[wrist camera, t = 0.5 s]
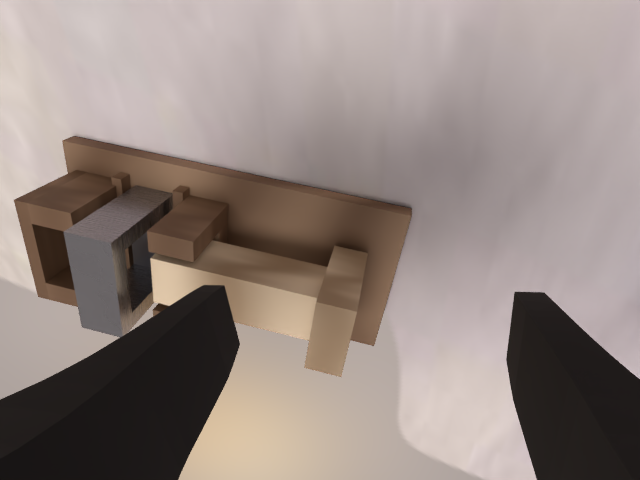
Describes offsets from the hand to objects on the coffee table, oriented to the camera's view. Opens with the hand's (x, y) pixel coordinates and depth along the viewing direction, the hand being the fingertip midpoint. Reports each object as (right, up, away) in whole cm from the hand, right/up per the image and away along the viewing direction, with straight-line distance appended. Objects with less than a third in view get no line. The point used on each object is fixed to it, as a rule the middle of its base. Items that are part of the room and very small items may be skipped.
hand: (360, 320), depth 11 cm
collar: (-10, +2, +11) cm, 15 cm away
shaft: (-3, +1, +10) cm, 11 cm away
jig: (-6, +2, +12) cm, 13 cm away
